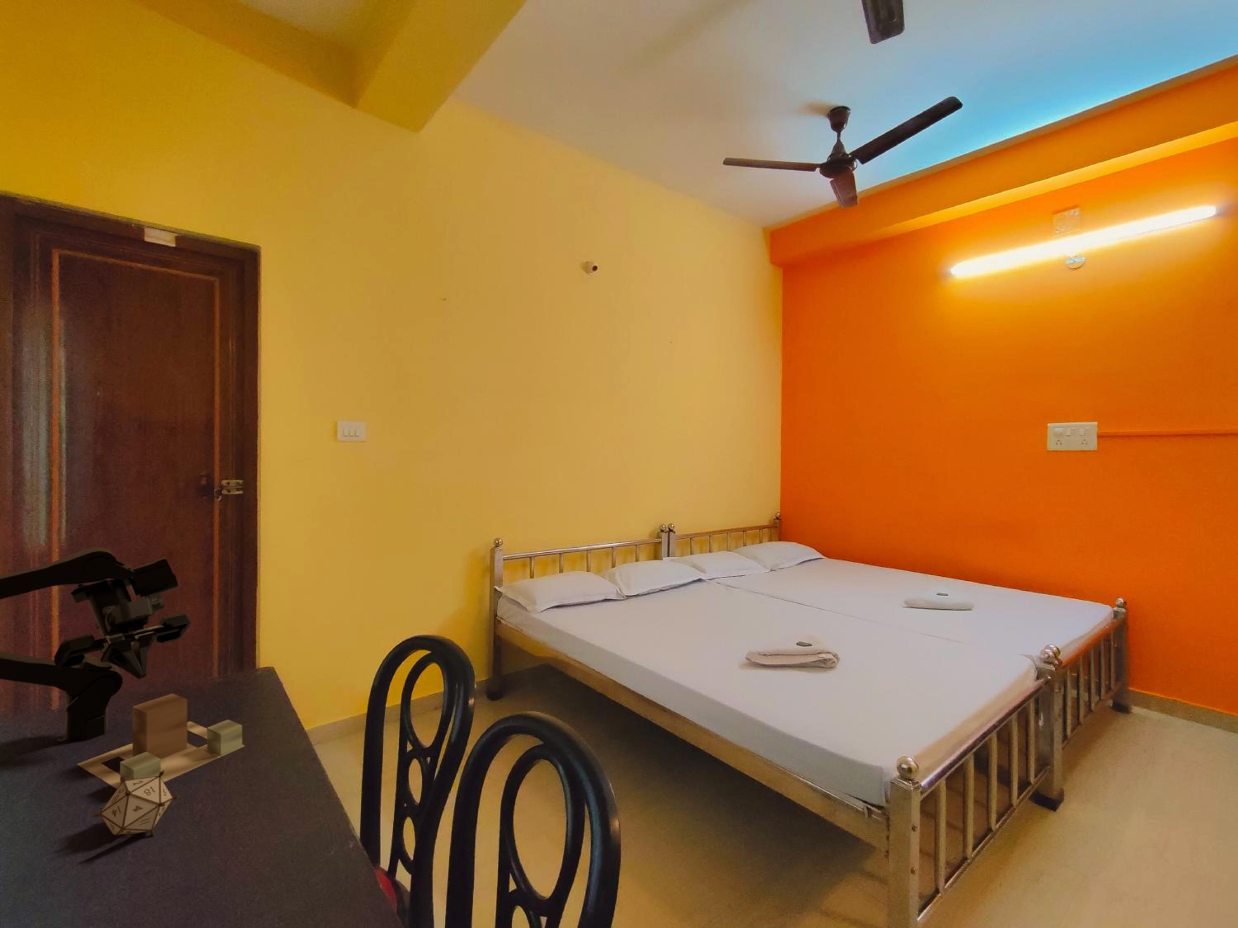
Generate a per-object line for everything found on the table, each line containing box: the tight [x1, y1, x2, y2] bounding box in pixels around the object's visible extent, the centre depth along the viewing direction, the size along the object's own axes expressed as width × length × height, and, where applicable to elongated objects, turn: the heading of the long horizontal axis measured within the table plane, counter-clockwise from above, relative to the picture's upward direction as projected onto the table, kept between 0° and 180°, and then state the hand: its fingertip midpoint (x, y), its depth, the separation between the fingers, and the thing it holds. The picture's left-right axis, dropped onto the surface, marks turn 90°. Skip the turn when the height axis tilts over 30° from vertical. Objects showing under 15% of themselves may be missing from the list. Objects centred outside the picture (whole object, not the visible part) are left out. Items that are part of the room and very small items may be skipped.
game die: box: [90, 770, 181, 844], centre depth 80 cm, size 9×8×10 cm
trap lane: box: [76, 719, 246, 790], centre depth 98 cm, size 18×17×5 cm
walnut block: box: [131, 693, 188, 759], centre depth 99 cm, size 5×6×9 cm
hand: (142, 677), depth 101 cm, fingers closed
